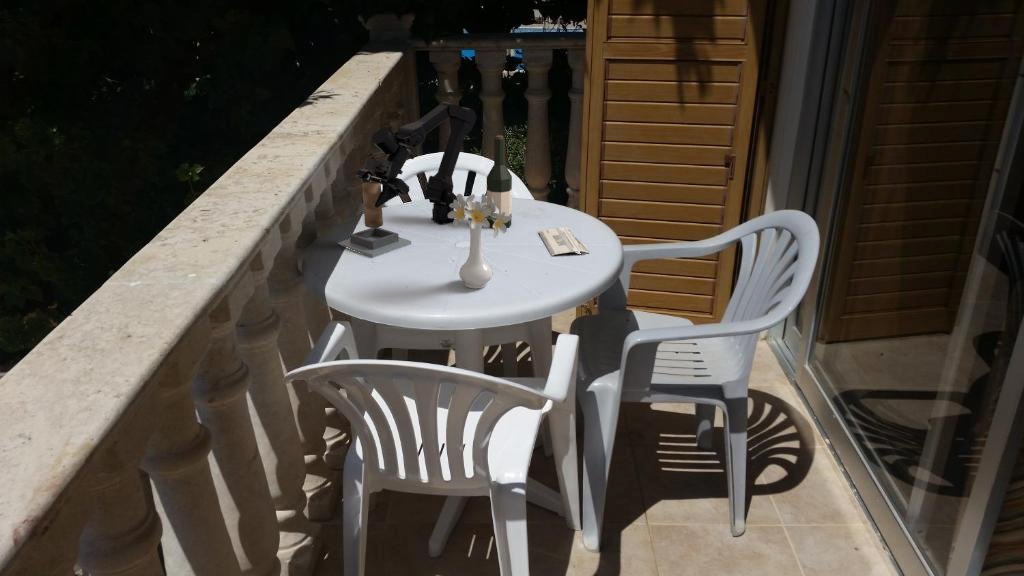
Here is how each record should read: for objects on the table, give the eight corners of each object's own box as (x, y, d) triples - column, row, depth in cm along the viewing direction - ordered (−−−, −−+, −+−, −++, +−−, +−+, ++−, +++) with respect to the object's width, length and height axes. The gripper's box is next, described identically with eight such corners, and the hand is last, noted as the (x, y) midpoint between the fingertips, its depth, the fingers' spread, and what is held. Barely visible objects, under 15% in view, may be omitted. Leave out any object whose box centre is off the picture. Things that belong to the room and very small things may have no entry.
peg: (382, 221, 254) (380, 181, 248) (383, 227, 249) (380, 186, 243) (364, 222, 253) (361, 181, 247) (365, 228, 248) (362, 187, 242)
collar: (376, 232, 263) (376, 222, 262) (411, 243, 254) (410, 233, 253) (337, 245, 252) (337, 235, 251) (372, 257, 243) (372, 246, 241)
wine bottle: (496, 219, 277) (496, 132, 266) (516, 224, 273) (517, 135, 261) (481, 225, 271) (481, 136, 259) (501, 230, 267) (502, 140, 255)
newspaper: (591, 256, 247) (591, 248, 246) (552, 262, 246) (551, 254, 245) (574, 231, 268) (574, 224, 267) (538, 237, 267) (537, 229, 266)
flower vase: (496, 299, 215) (496, 209, 205) (437, 286, 223) (435, 198, 213) (519, 283, 226) (520, 196, 216) (462, 270, 234) (461, 186, 224)
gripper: (358, 143, 250) (333, 185, 246) (400, 152, 239) (374, 197, 235) (379, 163, 258) (354, 204, 255) (420, 173, 248) (396, 216, 244)
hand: (369, 205), depth 247 cm, fingers closed on peg, 5 cm apart
